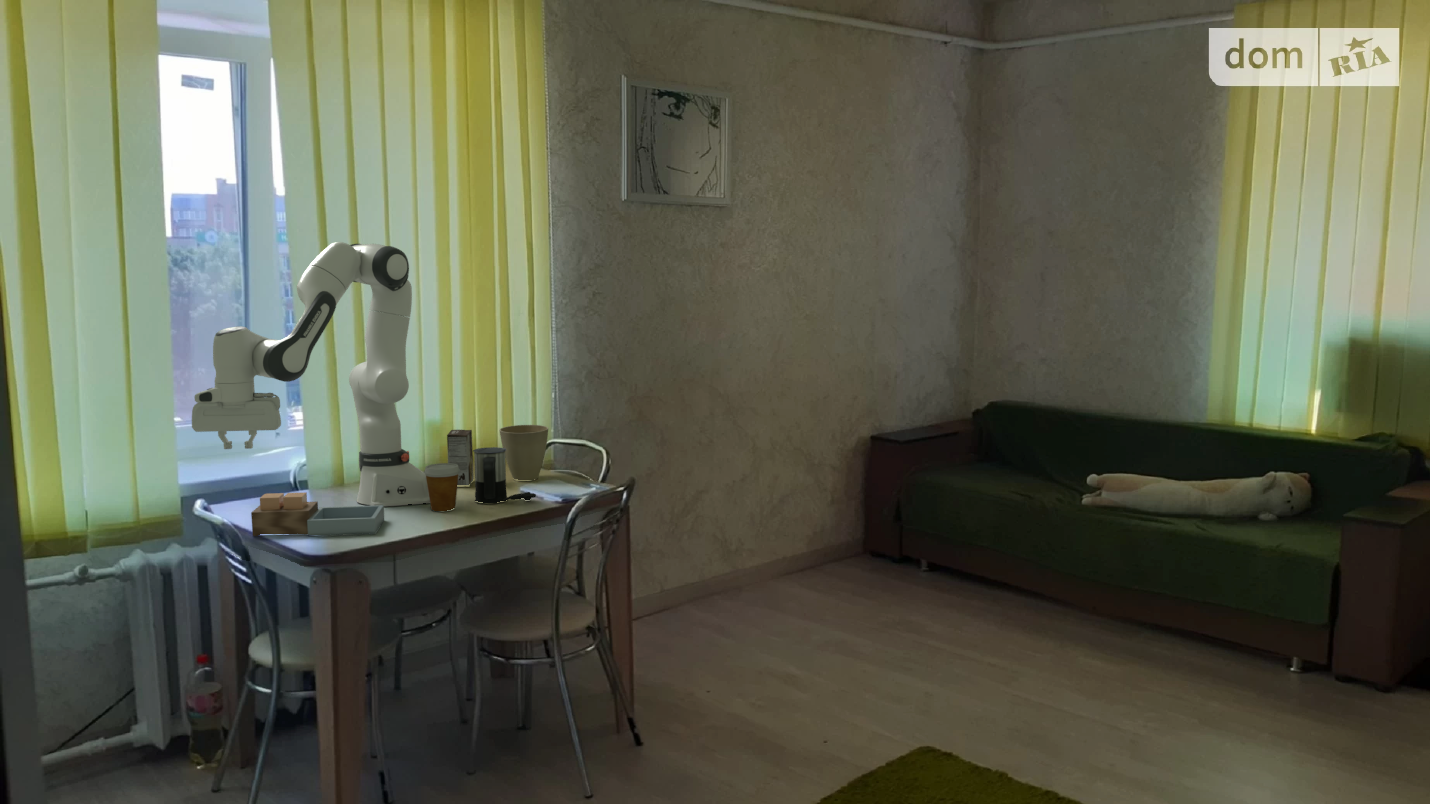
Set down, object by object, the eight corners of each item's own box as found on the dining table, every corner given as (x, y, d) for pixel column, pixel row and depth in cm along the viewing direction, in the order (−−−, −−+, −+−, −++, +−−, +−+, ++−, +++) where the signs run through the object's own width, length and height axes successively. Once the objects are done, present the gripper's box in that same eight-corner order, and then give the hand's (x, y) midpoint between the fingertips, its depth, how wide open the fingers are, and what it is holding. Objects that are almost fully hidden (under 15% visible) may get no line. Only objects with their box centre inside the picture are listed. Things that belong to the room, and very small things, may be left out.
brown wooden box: (318, 524, 273) (317, 501, 272) (309, 534, 263) (308, 510, 262) (263, 526, 271) (262, 503, 270) (252, 536, 261) (251, 512, 260)
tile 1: (284, 504, 268) (283, 493, 268) (279, 509, 264) (278, 497, 263) (265, 505, 268) (265, 493, 267) (260, 509, 263) (259, 498, 262)
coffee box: (452, 481, 325) (451, 429, 323) (474, 481, 325) (472, 429, 323) (447, 487, 316) (446, 434, 314) (469, 487, 316) (468, 434, 314)
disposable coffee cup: (467, 506, 292) (465, 463, 291) (451, 514, 283) (449, 470, 282) (435, 504, 295) (434, 462, 293) (418, 512, 285) (417, 468, 284)
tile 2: (307, 503, 269) (306, 492, 269) (302, 508, 264) (301, 496, 264) (288, 504, 269) (288, 492, 268) (283, 509, 264) (283, 497, 263)
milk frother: (470, 499, 301) (469, 448, 299) (524, 494, 308) (523, 443, 306) (483, 510, 288) (482, 456, 286) (539, 504, 295) (538, 451, 293)
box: (384, 520, 277) (383, 505, 277) (375, 533, 263) (374, 518, 263) (320, 522, 275) (319, 507, 274) (308, 536, 261) (307, 520, 260)
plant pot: (502, 474, 334) (501, 425, 332) (550, 474, 336) (549, 424, 334) (498, 485, 320) (497, 432, 317) (548, 484, 321) (547, 432, 319)
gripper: (282, 390, 265) (285, 445, 267) (196, 392, 262) (199, 447, 264) (276, 394, 259) (279, 449, 261) (187, 395, 256) (191, 451, 258)
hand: (238, 448), depth 263 cm, fingers open, 3 cm apart
